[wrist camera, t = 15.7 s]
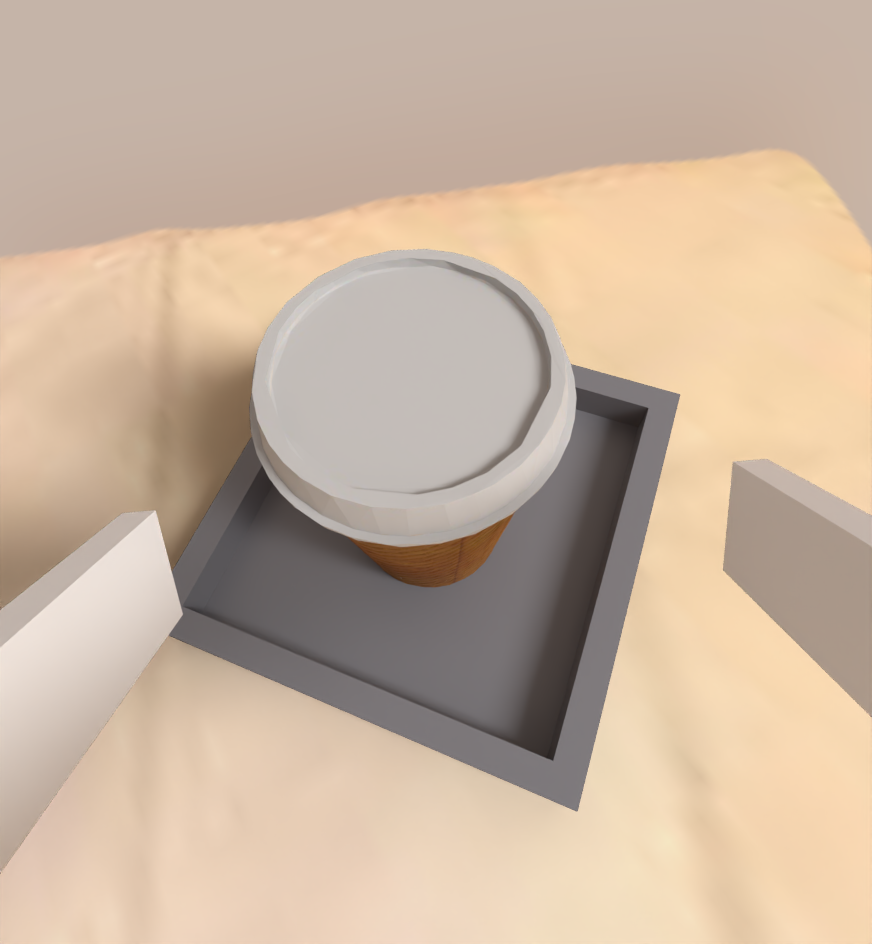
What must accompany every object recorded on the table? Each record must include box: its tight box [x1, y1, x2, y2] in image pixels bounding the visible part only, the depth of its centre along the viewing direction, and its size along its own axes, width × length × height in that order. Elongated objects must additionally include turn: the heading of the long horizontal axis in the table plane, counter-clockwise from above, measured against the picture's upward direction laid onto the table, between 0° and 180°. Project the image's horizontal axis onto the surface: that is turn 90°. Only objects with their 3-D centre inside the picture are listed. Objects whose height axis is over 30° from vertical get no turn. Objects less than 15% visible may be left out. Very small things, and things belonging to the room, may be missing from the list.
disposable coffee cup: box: [249, 249, 577, 587], centre depth 21 cm, size 10×10×12 cm
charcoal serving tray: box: [169, 364, 680, 811], centre depth 26 cm, size 18×18×3 cm
